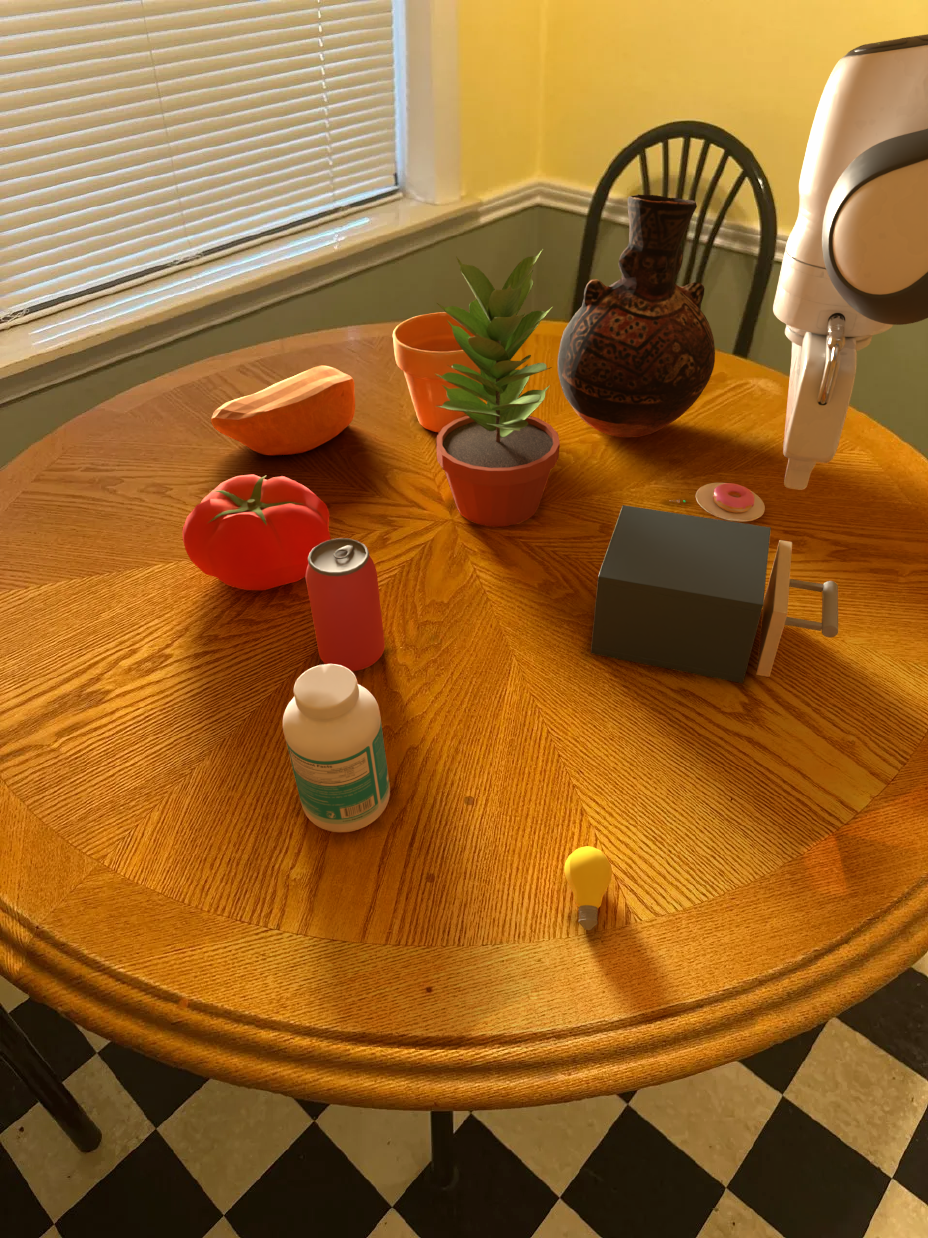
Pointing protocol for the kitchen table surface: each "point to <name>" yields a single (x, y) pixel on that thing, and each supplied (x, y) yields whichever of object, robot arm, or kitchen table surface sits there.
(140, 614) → the kitchen table surface
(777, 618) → the wooden pull-out drawer
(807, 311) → the robot arm
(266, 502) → the tomato
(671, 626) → the drawer cabinet
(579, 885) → the light bulb
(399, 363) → the flower pot
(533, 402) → the potted plant
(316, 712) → the pill bottle
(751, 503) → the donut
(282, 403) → the orange oblong lump
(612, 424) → the ceramic vessel
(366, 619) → the beer can
